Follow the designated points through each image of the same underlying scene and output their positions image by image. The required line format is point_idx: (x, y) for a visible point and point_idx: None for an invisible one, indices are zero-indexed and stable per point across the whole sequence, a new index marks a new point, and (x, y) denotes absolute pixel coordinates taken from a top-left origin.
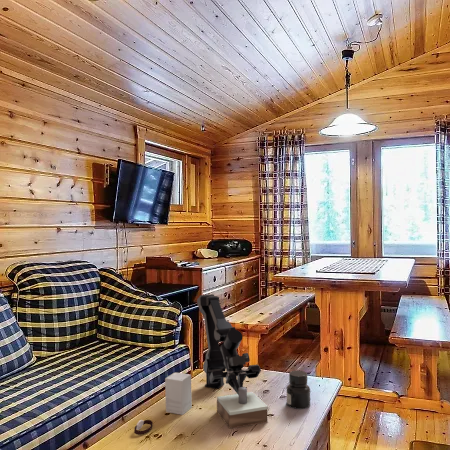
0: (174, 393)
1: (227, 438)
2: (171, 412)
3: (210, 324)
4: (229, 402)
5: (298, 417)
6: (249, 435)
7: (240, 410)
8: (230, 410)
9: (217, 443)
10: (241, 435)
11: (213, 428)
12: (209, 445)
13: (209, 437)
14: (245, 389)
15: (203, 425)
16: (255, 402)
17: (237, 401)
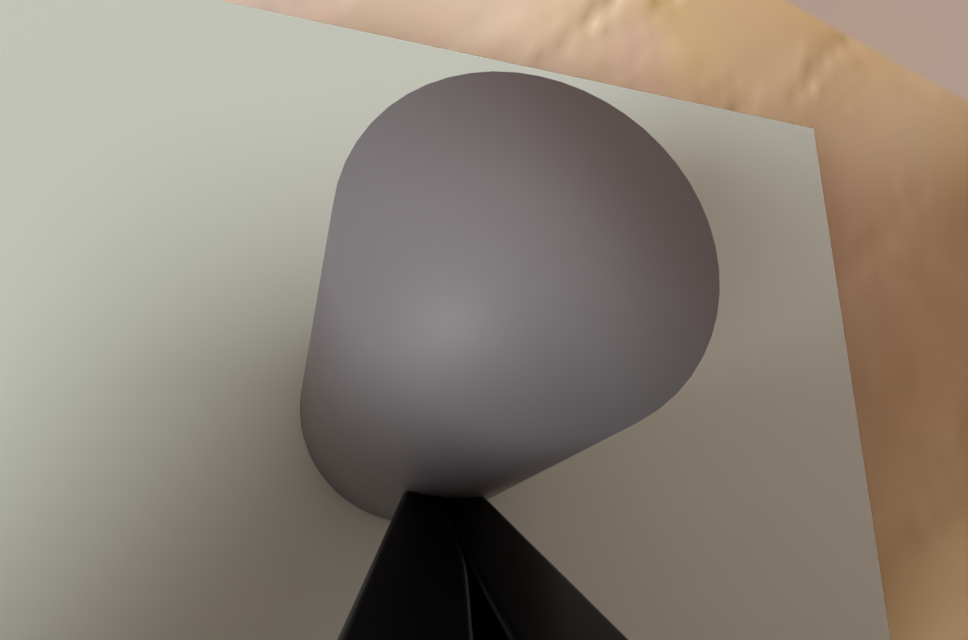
0: None
1: (746, 96)
2: None
3: None
4: (722, 557)
5: None
6: (499, 24)
7: (619, 93)
8: (789, 185)
9: (856, 70)
10: (585, 70)
11: (852, 374)
12: (927, 79)
13: (915, 205)
14: (462, 101)
15: (960, 512)
16: (97, 258)
17: (518, 530)
